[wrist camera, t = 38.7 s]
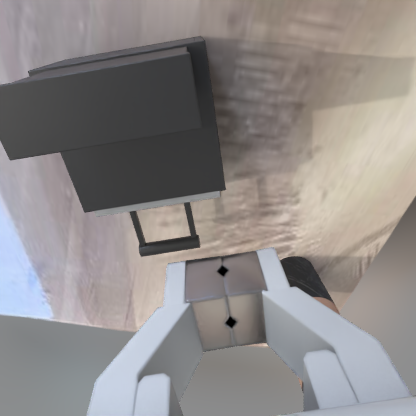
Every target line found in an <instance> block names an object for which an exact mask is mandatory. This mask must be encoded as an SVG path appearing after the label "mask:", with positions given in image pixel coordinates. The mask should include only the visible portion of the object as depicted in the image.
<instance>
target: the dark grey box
mask: <svg viewBox="0 0 416 416" xmlns="http://www.w3.org/2000/svg"><path fill="white" fill-rule="evenodd" d="M180 47H187V50H188V52H189V53H190V57H191V63H192V69H193V75H194V82H195V88H196V94H197V100H198V106H199V112H200V118H201V125H202V128H201V129H195V130H189V131H183V132H177V133H171V134H165V135H159V136H153V137H147V138H141V139H135V140H130V141H124V142H118V143H112V144H106V145H100V146H94V147H88V148H82V149H76V150H70V151H64V152H60V153H61V155H62V158H63V160H64V163H65V165H66V167H67V170H68V172H69V175H70V177H71V180H72V182H73V185H74V187H75V190H76V192H77V195H78V197H79V200H80V202H81V205H82V207H83V210H84V212H92V211H98V210H104V209H110V208H116V207H123V206H129V205H135V204H141V203H147V202H153V201H160V200H166V199H172V198H178V197H184V196H191V195H197V194H203V193H209V192H215V191H222V190H225V189H226V188H225V181H224V174H223V167H222V160H221V153H220V145H219V138H218V131H217V124H216V117H215V109H214V102H213V95H212V88H211V81H210V74H209V66H208V59H207V52H206V45H205V40H204V39H203V38H202V37H201V36H199V37H193V38H187V39H181V40H176V41H170V42H164V43H159V44H153V45H147V46H141V47H136V48H130V49H124V50H118V51H113V52H107V53H101V54H96V55H90V56H84V57H78V58H73V59H67V60H63V61H59V62H56V63H53V64H49V65H46V66H43V67H40V68H36V69H33V70H30V71H28V73H29V76H33V75H36V74H39V73H41V72H44V71H48V70H53V69H59V68H65V67H71V66H76V65H82V64H88V63H94V62H99V61H105V60H111V59H117V58H122V57H128V56H134V55H140V54H145V53H151V52H157V51H163V50H168V49H174V48H180Z"/></svg>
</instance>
